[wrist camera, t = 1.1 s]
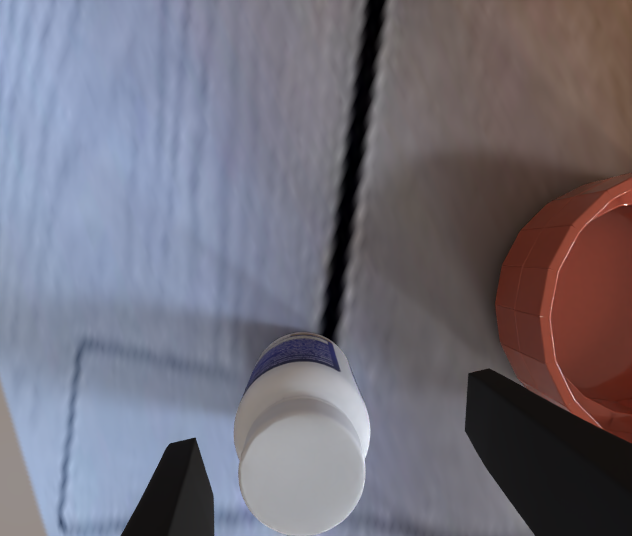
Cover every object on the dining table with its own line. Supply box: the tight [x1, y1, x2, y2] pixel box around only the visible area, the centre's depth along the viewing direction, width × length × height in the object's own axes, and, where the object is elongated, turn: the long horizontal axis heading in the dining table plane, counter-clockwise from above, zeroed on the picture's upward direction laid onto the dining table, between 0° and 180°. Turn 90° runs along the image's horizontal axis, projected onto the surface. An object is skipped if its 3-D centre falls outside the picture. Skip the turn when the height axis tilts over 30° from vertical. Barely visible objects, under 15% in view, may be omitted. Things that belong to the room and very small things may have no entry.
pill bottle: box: [234, 332, 370, 536], centre depth 16 cm, size 5×5×9 cm
